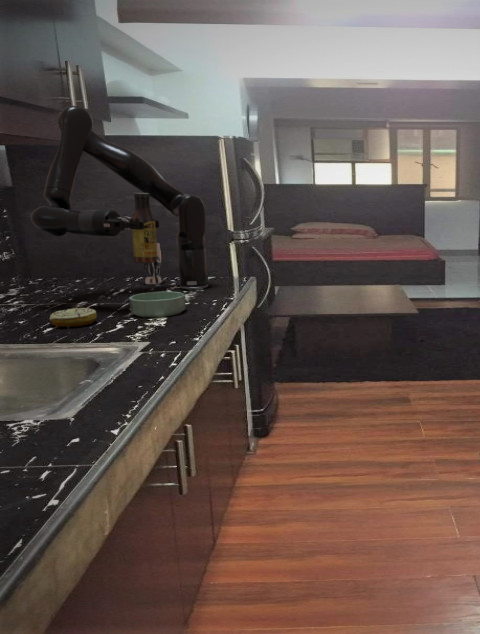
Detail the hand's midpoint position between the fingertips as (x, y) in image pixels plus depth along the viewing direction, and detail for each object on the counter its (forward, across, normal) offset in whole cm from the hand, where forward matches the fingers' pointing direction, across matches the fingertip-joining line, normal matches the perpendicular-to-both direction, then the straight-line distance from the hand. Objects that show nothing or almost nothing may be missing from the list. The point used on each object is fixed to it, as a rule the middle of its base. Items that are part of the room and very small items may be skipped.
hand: (150, 224), depth 172 cm
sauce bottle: (-2, 0, +11) cm, 11 cm away
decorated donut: (-12, -19, +26) cm, 34 cm away
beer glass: (-32, +44, +26) cm, 60 cm away
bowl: (+1, -1, +26) cm, 26 cm away
